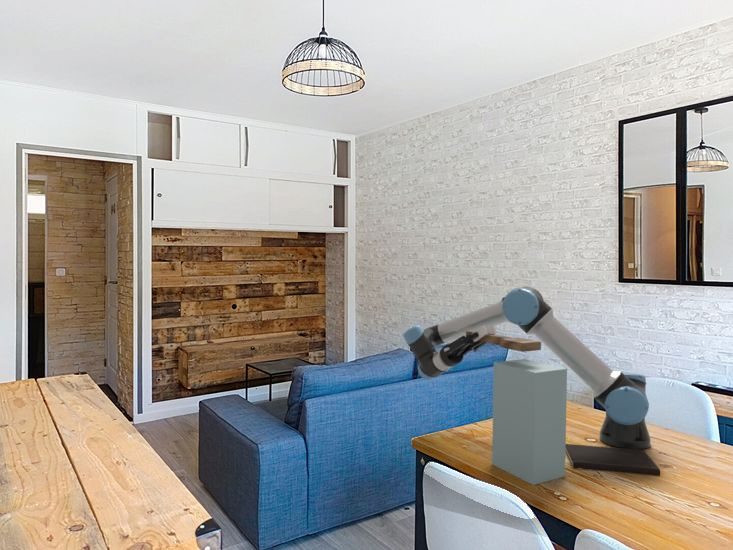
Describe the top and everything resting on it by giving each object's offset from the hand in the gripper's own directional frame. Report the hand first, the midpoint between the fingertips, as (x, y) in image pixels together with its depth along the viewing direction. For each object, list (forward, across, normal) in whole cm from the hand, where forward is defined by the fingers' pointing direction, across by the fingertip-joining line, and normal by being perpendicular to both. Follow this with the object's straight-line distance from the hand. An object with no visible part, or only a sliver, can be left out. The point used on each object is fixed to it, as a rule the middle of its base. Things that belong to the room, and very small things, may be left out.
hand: (489, 329), depth 164 cm
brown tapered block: (+1, 0, -5) cm, 6 cm away
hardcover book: (0, -27, -45) cm, 53 cm away
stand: (-5, 0, -41) cm, 42 cm away
